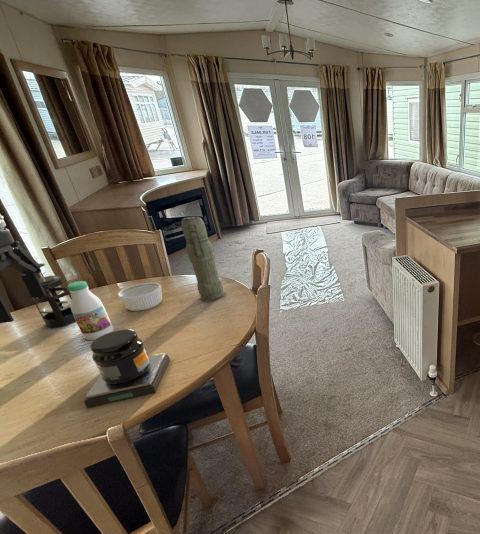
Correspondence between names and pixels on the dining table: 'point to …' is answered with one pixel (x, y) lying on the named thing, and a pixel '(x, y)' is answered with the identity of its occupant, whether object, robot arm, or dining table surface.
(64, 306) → the french press
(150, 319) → the dining table surface
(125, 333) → the supplement container
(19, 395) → the dining table surface
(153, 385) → the scale
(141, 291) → the ramekin
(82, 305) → the milk bottle
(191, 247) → the green tiki statue
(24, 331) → the dining table surface
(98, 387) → the grey flat slab
